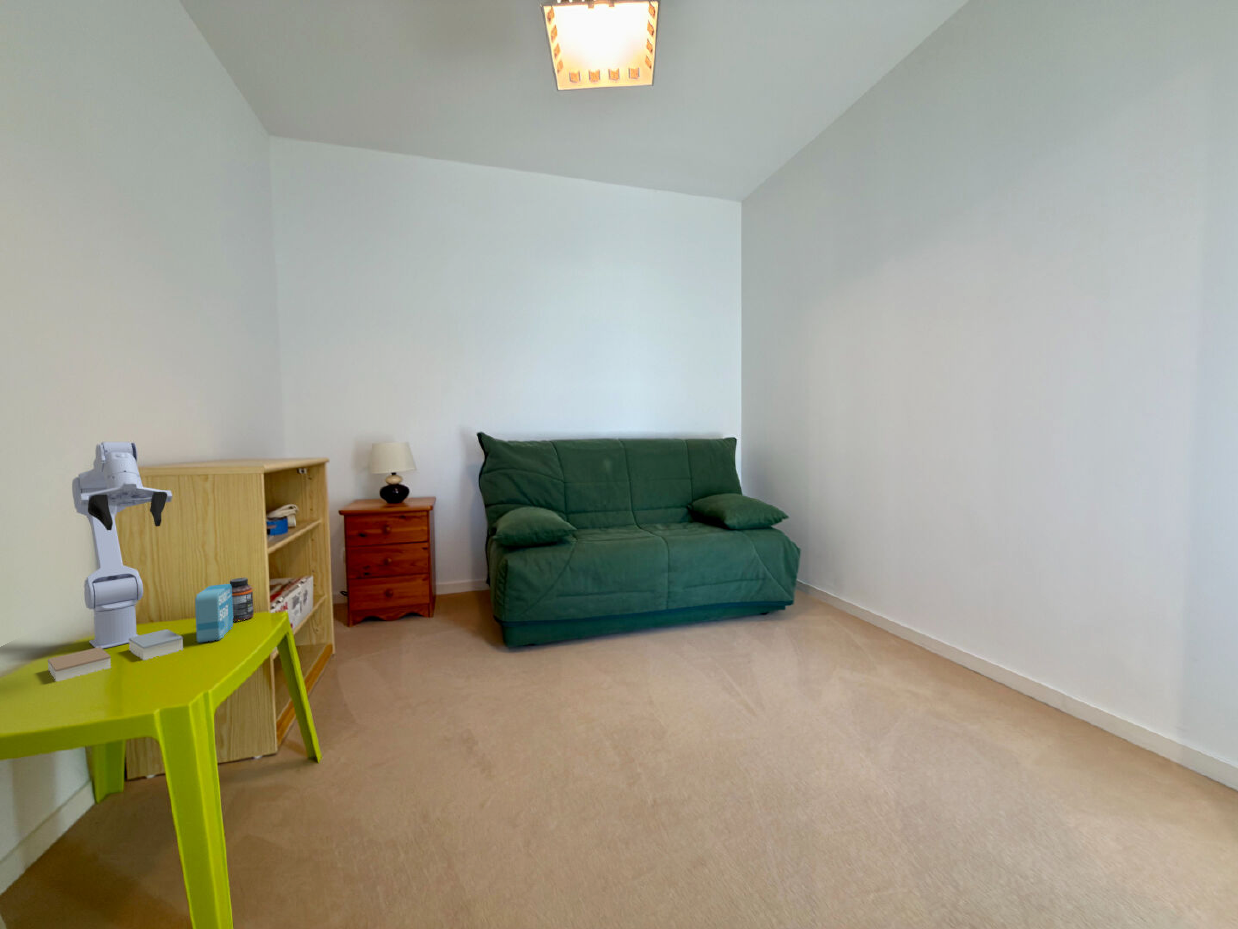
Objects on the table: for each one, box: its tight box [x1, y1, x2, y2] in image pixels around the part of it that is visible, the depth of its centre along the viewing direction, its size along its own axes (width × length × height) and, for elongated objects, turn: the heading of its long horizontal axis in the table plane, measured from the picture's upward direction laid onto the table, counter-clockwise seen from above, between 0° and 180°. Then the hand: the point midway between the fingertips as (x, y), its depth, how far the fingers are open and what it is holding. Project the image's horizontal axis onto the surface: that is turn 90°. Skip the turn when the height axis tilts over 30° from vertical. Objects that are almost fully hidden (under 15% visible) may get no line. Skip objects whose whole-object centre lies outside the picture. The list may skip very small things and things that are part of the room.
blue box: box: [194, 583, 234, 643], centre depth 129 cm, size 12×4×12 cm, turn 24°
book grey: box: [128, 629, 184, 661], centre depth 120 cm, size 11×7×3 cm, turn 57°
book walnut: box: [47, 647, 112, 682], centre depth 109 cm, size 10×8×3 cm
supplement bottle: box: [229, 577, 254, 621], centre depth 142 cm, size 6×6×11 cm
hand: (134, 525), depth 108 cm, fingers open, 7 cm apart
